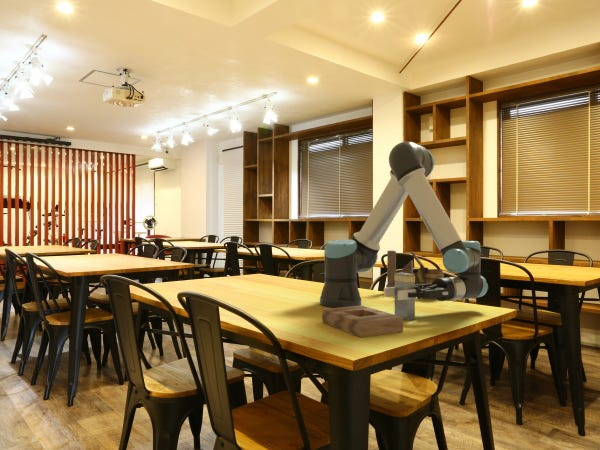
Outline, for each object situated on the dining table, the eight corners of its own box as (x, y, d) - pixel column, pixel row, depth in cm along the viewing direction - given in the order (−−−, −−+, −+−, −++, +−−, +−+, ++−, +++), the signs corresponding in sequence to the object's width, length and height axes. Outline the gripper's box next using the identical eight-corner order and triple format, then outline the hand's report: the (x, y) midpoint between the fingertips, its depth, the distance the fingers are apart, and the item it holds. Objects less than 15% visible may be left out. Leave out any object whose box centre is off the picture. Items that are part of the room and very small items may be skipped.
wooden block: (411, 294, 190) (411, 251, 190) (386, 293, 194) (386, 250, 194) (413, 293, 193) (413, 251, 193) (388, 291, 198) (388, 250, 198)
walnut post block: (322, 322, 137) (322, 309, 137) (361, 318, 143) (361, 305, 143) (360, 337, 119) (360, 322, 119) (403, 331, 125) (403, 317, 125)
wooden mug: (412, 294, 190) (412, 251, 190) (446, 296, 186) (446, 252, 186) (410, 298, 182) (410, 252, 182) (446, 299, 177) (446, 253, 177)
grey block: (394, 317, 145) (394, 272, 145) (402, 316, 146) (402, 272, 146) (407, 320, 139) (407, 274, 139) (414, 319, 141) (415, 274, 141)
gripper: (470, 305, 142) (412, 311, 132) (427, 296, 159) (372, 301, 149) (470, 280, 142) (412, 285, 132) (427, 274, 159) (372, 278, 149)
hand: (391, 293), depth 140 cm, fingers closed on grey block, 6 cm apart
